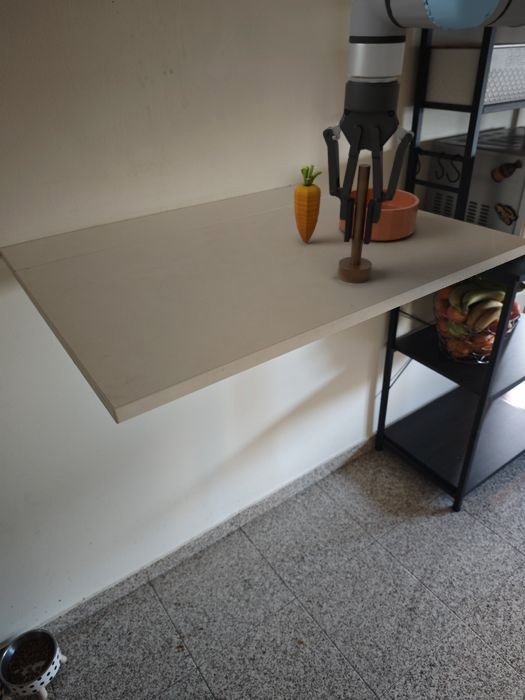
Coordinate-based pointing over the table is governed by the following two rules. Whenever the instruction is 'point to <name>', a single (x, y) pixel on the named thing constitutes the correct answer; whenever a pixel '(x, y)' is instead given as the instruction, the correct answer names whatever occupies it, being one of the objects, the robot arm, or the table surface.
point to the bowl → (391, 216)
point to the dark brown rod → (358, 235)
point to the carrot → (307, 204)
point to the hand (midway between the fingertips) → (357, 240)
